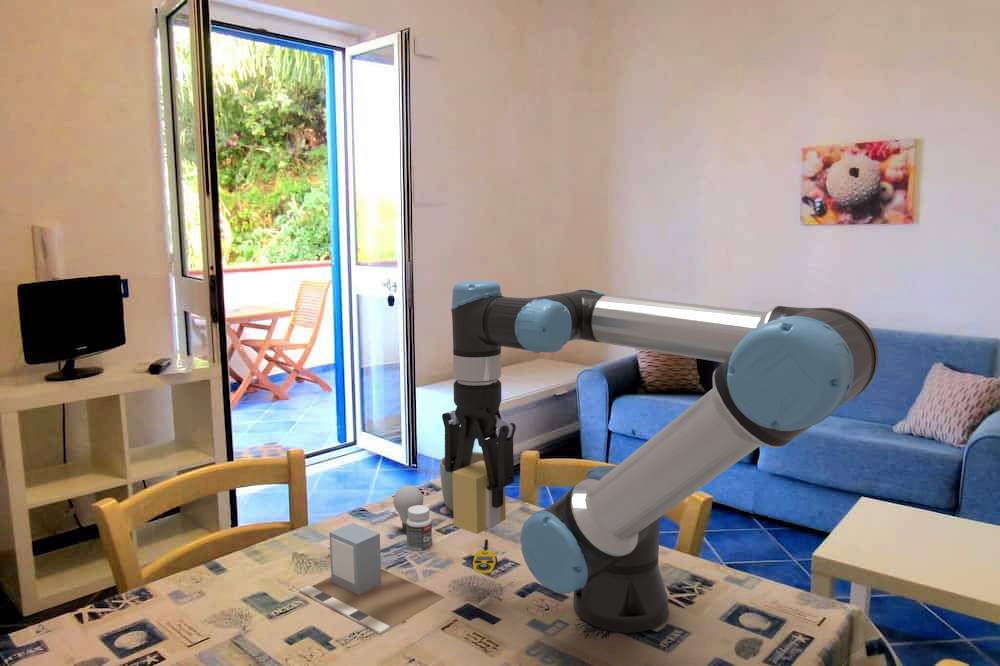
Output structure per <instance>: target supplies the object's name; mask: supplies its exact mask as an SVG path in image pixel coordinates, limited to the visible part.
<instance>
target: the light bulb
mask: <svg viewBox="0 0 1000 666" xmlns="http://www.w3.org/2000/svg"><path fill="white" fill-rule="evenodd" d="M392 503H393V506H394V509H395V510H396V512H397V514H398V515H399V518H400V521H401V525H402V526H401V527H402V528H401V529H402V530H403V531H404V532H407V527H406V522H407V519H408V518H409V517H408V509H409V508H410V507H412V506H416V505H423V504H424V496H423V493H422V491H421V490H420V489H419V488H418V487H417V486H414V485H411V484H410V485H407V484H406V485H404V486H401V487H400V488H398V489H397V490H396V492H395V494H394V496H393V502H392ZM423 506H424V505H423Z"/></svg>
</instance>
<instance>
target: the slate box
mask: <svg viewBox="0 0 1000 666" xmlns="http://www.w3.org/2000/svg"><path fill="white" fill-rule="evenodd" d="M328 534H329V554H330V577H331V580H332V583H335V584H337V585H339V586H341V587H343V588H345V589H347V590H349V591H351V592H353V593H355V594H357V595H360V594H362V593H364V592H366V591H368V590H370V589H372V588H374V587H375V586H377V585H379V584H381V569H382V562H381V561H382V560H381V559H382V557H381V534H380V533H379V532H376V531H374V530H372V529H369V528H367V527H364V526H362V525H359V524H356V523H354V522H351V523H348V524H346V525H343V526H342V527H341V526H340V527H339V528H336V529H334V530H332V531H329V533H328Z"/></svg>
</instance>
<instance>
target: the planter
mask: <svg viewBox="0 0 1000 666" xmlns="http://www.w3.org/2000/svg"><path fill="white" fill-rule="evenodd" d="M481 460H482V461H484V457H483V452H479V451H473V452H472V457H471V462H470V465H471V464H474V463H476V462H479V461H481ZM452 463H453V461H452ZM439 473H440V474H439V475H440V483H441V491H442V498H443V501H444V504H445V505H446V507H447V508H448V509H449V510H451V511H452V512H453V476H452V473H451V472H446V470H445V456H444V457H442V458H441V459H440V461H439Z"/></svg>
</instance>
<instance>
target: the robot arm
mask: <svg viewBox="0 0 1000 666" xmlns="http://www.w3.org/2000/svg"><path fill="white" fill-rule="evenodd" d="M450 312H451V320H452V322H451V323H452V348H453V349H452V368H453V369H452V378H453V379H455V381H454V383H453V385H452V386H453V403H454V405H456V408H455V409H454V410H451V411H447V412H444V413H442V415H441V418H442V422H443V426H444V457H445V470H446V472H451V473H452V472H454V471H456V470H459V469H461V468H464V467H466V466H469V465H470V462H471V457H472V452H474V448H475V447H474V446H475V442H476V440H477V443H478V446H479V447H480V448H481V451H482V452H481V453H483V457H484V461H485V466H486V471H487V475H488V480H489V485H490V486H488V487H487V488H486V527H487V528H488V529H491V528H494V527H495V526H498V525H499V524H501V522H500V507H501V506H503V487H505V488H506V487H507V486H510V485H512V484H514V482H515V464H514V462H515V461H514V458H515V457H514V456H515V455H514V437H515V436H514V435H515V432H516V429H517V425H516V424H515V423H514V422H510V423H508V422H506V421H505V420H503V419H502V415H501V413H500V406H501V403H502V382H501V380H499V379H500V378H501V377H502V347H503V348H504V347H505V348H511V349H516V350H522V351H529V352H533V353H537V354H540V353H551V354H553V353H557V352H559V351H561V350H562V349H563V347H564V345H566V344H567V343H568V342H571V341H575V340H576V341H580V340H581V341H585V342H587V341H588V342H593V343H600V344H607V345H615V346H621V347H628V348H633V349H638V350H646V351H651V352H656V353H657V352H658V353H664V354H669V355H675V356H682V357H686V358H687V357H688V358H693V359H700V360H706V361H711V362H712V361H713V362H718V363H721V364H720V365H718V366H717V367H716V368H715V369H714V371H713V372H712V388H711V389H710V390H709V391H707V392H706V393H705V394H704V395H702V396H701V397H700V398H699V399H698V400H696V401H695V402H694V403H692V404H691V405H690V406H689V407H687V409H685V410H684V411H682V412H681V414H679V415H678V416H677V417H676V418H674V419H673V420H672V421H670V422H669V423H668V424H667V425H666V426H664V427H663V428H662V429H661V430H659V431H658V432H657V433H656V434H654V435H653V436H652V437H651V438H649V440H647V441H646V442H645V443H643V444H642V445H641V446H640V447H638V448H637V449H636V450H635V451H633V452H632V453H631V454H630V455H629V456H627V457H626V458H624V460H622V461H621V462H620V463H619V464H618V465H599V466H598V465H597V466H593V467H591V468H589V469H588V470H587V471H586V476H585V478H584V479H583V480H581V481H579V482H578V483H577V484H576V485H574V486H573V487H572V488H571V489H569V490H568V491H567V492H566V493H564V494H563V495H562V496H561V497H560V498H558V499H557V500H555V502H553V503H552V504H550V505H549V506H547V507H545V508H544V509H541V510H538V511H535V512H534V513H533V514H532V515H530V516H529V517H528V519H526V520H525V521H524V523H523V525H522V527H521V532H520V539H519V540H520V543H521V547H520V549H521V554H522V556H523V559H524V562H525V564H526V566H527V569H528V570H529V571H530V573H531V574H532V576H533V577H534V578H535V579H536V580H537V581H538V583H540V585H542V586H543V587H545V588H546V589H549V590H550V591H552V592H554V593H557V594H561V595H563V594H564V595H565V594H571V593H573V609H574V611H575V613H576V614H577V615H578V617H580V619H581V620H582V621H584V622H585V623H587V624H589V625H591V626H593V627H595V628H598V629H601V630H604V631H608V632H615V633H623V634H625V633H626V634H627V633H634V634H635V633H641V632H646V631H650V630H653V629H655V628H657V627H659V626H661V625H662V624H663V623H664V622H665V621H666V619H667V617H668V615H669V596H668V593H667V590H666V587H665V584H664V579H663V576H662V573H661V569H660V566H659V553H660V530H661V529H660V528H661V527H660V526H661V517H663V515H665V514H666V513H668V512H670V510H672V509H673V508H675V507H676V506H678V505H679V504H681V503H682V502H683V501H685V500H686V499H688V498H689V497H690V496H692V495H693V494H694V493H696V492H697V491H699V490H701V488H703V487H704V486H705V485H708V483H710V482H711V481H713V480H714V479H716V478H717V477H718V476H720V475H721V474H723V473H724V472H725V471H727V470H728V469H729V468H731V467H733V465H735V464H737V463H738V462H739V461H741V460H742V459H743V458H745V457H746V456H748V455H749V454H750V453H752V452H753V451H755V450H756V449H758V448H759V447H761V446H762V447H767V448H772V449H778V448H779V449H781V448H782V447H784V446H785V445H787V444H789V443H791V441H793V440H795V439H796V438H797V437H798V436H800V435H802V434H803V433H804V432H806V431H808V430H809V429H810V428H812V427H813V426H815V425H817V424H820V423H822V422H823V421H825V420H826V419H827V418H829V417H830V416H831V415H833V414H834V413H835V412H836V411H837V410H838V409H839V408H840V407H842V406H843V405H845V404H846V403H848V402H849V401H851V400H852V399H854V398H856V397H858V396H859V395H860V394H861V393H863V392H864V391H865V390H866V389H867V388H868V387H869V386H870V384H871V383H872V381H873V380H874V378H875V376H876V374H877V372H878V367H879V362H880V358H879V357H880V350H879V346H878V342H877V340H876V337H875V335H874V333H873V332H872V330H871V329H870V328H869V326H868V325H867V324H866V323H865V322H864V321H863V320H862V319H860V318H859V317H857V316H856V315H854V314H852V313H850V312H848V311H846V310H843V309H839V308H835V307H796V306H795V307H793V306H783V305H775V306H773V307H772V308H770V310H768V311H767V312H766V311H759V310H757V311H756V310H748V309H740V308H739V309H738V308H732V307H721V306H715V305H714V306H711V305H705V304H704V305H703V304H696V303H695V304H694V303H686V302H685V303H684V302H676V301H667V300H659V299H658V300H657V299H649V298H641V297H632V296H624V295H613V294H605V293H603V292H602V291H600V290H598V289H577V290H574V291H570V292H564V293H557V294H551V295H542V296H541V295H540V296H533V297H509V296H503V294H502V292H501V285H500V283H499V282H497V281H492V280H465V281H464V280H463V281H459V282H457V283H456V284H454V286H453V288H452V299H451V308H450ZM452 461H453V463H452ZM496 479H497V480H496Z"/></svg>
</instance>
